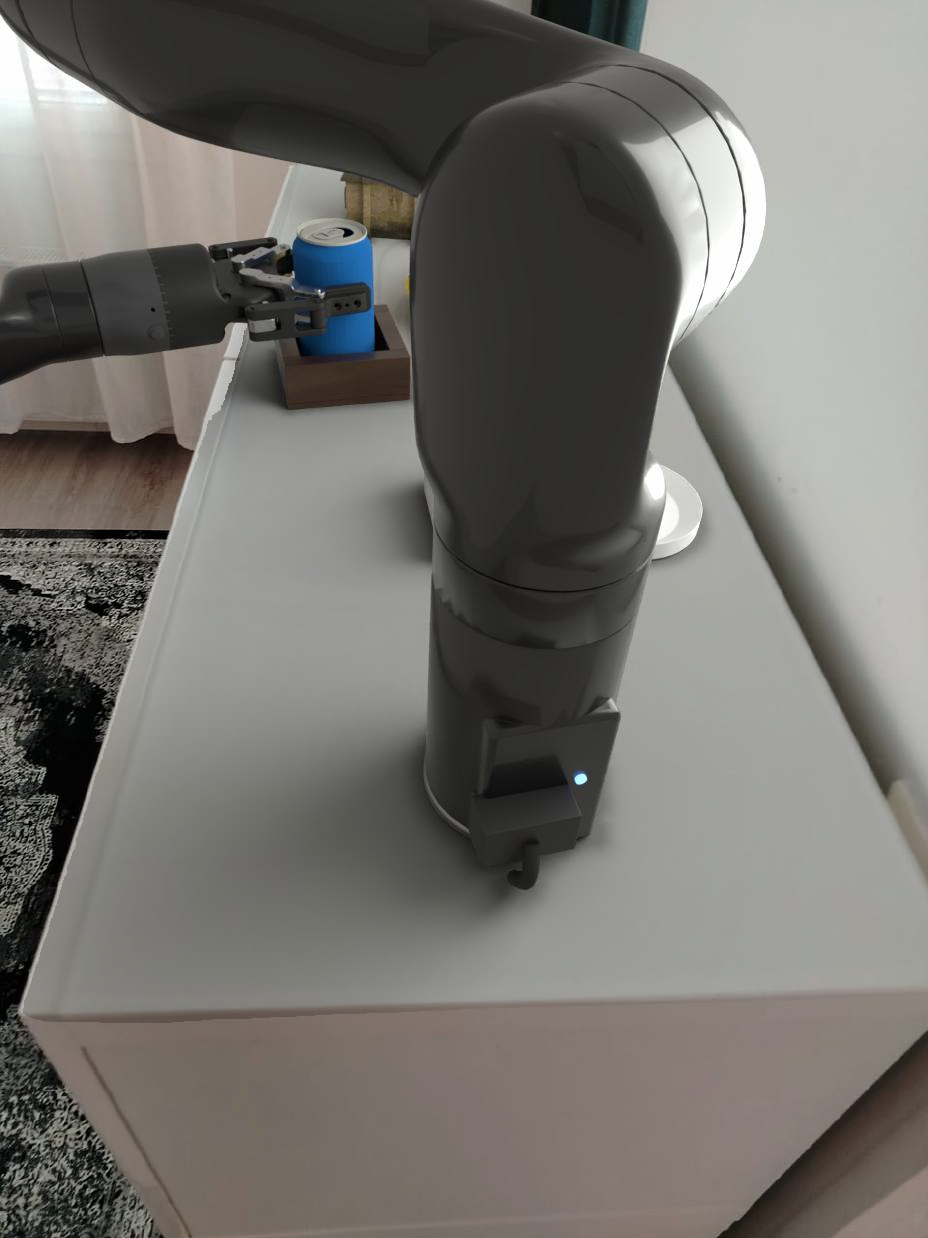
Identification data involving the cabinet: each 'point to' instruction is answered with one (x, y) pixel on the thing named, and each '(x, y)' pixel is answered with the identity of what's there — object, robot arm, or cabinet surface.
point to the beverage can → (336, 281)
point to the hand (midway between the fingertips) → (352, 275)
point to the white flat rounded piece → (677, 516)
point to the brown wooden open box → (347, 370)
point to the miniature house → (379, 207)
